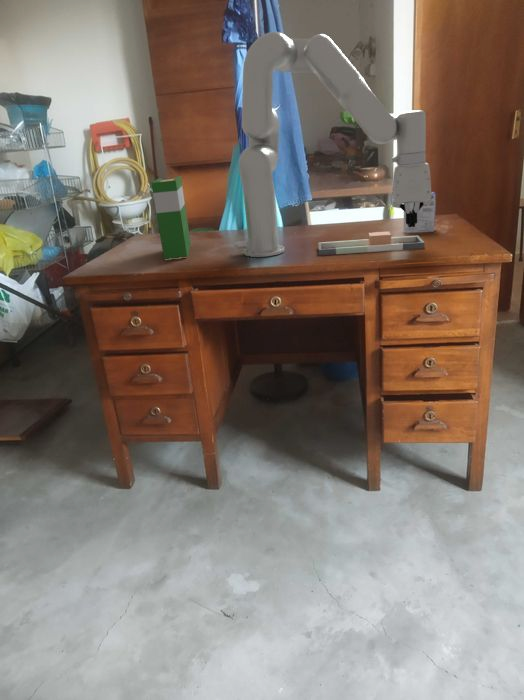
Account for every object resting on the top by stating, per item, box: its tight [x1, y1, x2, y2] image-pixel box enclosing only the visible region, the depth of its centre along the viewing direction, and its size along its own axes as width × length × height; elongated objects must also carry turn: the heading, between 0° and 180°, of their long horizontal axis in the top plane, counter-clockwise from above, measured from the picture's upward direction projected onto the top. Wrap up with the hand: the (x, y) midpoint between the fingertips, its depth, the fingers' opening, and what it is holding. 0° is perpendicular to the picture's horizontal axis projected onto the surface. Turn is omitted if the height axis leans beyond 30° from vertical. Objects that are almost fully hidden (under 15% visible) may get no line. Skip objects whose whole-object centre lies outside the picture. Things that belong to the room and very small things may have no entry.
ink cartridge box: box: [403, 191, 437, 234], centre depth 168 cm, size 10×6×14 cm, turn 76°
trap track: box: [318, 235, 426, 256], centre depth 153 cm, size 30×10×2 cm, turn 84°
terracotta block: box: [368, 231, 392, 246], centre depth 152 cm, size 6×5×4 cm
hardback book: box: [150, 175, 192, 260], centre depth 169 cm, size 18×7×24 cm, turn 3°
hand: (411, 226), depth 150 cm, fingers closed
